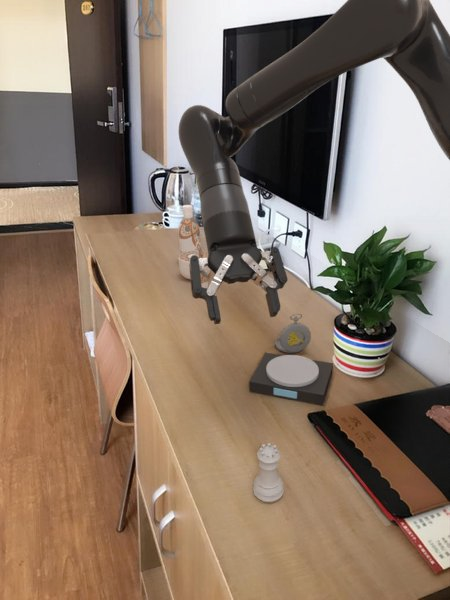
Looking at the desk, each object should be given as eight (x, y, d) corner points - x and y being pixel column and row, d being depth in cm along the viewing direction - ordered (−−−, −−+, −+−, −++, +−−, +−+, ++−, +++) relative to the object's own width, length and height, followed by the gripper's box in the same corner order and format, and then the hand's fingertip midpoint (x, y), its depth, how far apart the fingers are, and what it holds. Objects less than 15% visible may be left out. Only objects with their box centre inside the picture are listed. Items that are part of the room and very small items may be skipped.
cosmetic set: (219, 292, 137) (216, 225, 129) (185, 295, 136) (180, 228, 127) (204, 260, 159) (201, 201, 151) (175, 263, 158) (170, 204, 150)
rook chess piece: (248, 499, 72) (248, 456, 69) (258, 477, 76) (258, 435, 72) (278, 507, 71) (279, 464, 67) (287, 484, 74) (288, 442, 71)
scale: (332, 373, 100) (333, 359, 99) (322, 406, 91) (323, 391, 89) (264, 362, 105) (265, 348, 103) (248, 392, 95) (248, 378, 94)
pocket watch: (288, 336, 114) (289, 296, 110) (318, 349, 108) (320, 308, 104) (263, 349, 109) (264, 308, 105) (293, 364, 104) (294, 321, 99)
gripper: (183, 212, 74) (201, 317, 68) (276, 204, 76) (299, 304, 71) (180, 236, 81) (196, 332, 75) (265, 228, 83) (286, 320, 78)
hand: (246, 318), depth 73 cm, fingers open, 8 cm apart
